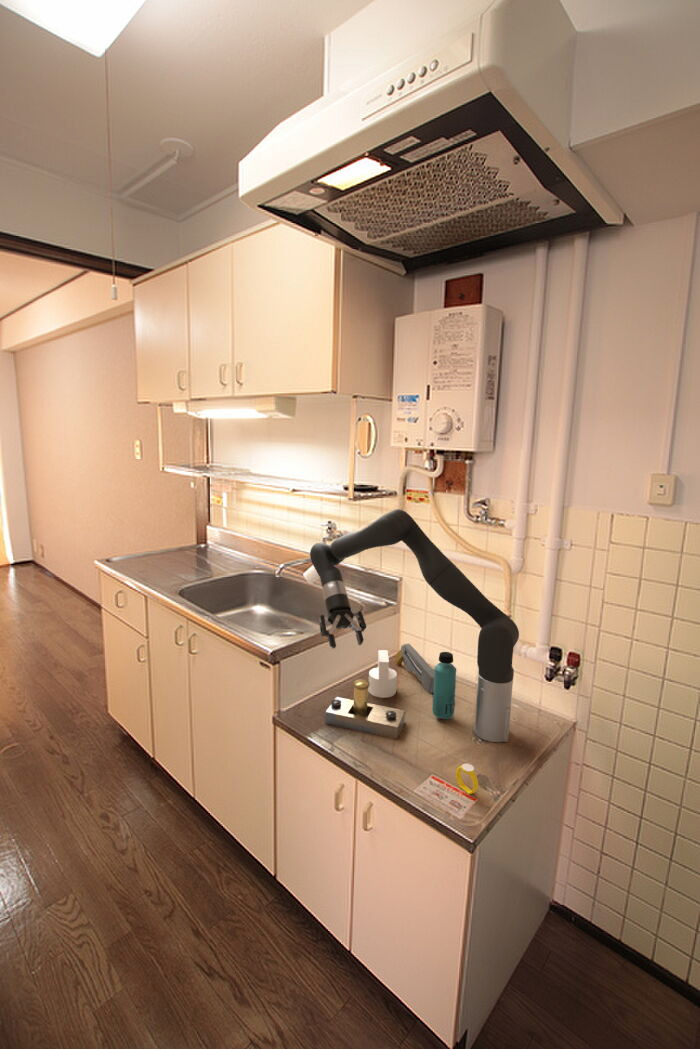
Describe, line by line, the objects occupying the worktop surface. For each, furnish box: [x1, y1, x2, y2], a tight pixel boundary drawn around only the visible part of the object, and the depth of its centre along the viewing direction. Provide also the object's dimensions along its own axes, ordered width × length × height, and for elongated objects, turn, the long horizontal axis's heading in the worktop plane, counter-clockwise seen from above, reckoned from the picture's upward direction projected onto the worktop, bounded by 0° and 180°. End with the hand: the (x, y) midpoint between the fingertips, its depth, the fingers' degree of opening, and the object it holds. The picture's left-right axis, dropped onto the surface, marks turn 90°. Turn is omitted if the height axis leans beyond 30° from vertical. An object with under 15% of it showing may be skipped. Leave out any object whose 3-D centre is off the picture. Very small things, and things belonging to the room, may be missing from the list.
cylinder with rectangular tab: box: [368, 649, 398, 698], centre depth 162 cm, size 9×9×12 cm
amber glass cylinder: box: [352, 678, 370, 718], centre depth 143 cm, size 5×5×12 cm
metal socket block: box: [324, 696, 406, 740], centre depth 143 cm, size 21×9×5 cm, turn 71°
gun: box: [394, 643, 435, 694], centre depth 171 cm, size 3×25×15 cm, turn 25°
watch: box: [455, 763, 479, 795], centre depth 117 cm, size 6×3×6 cm, turn 31°
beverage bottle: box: [431, 651, 457, 720], centre depth 146 cm, size 6×7×20 cm
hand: (347, 645), depth 152 cm, fingers open, 8 cm apart
